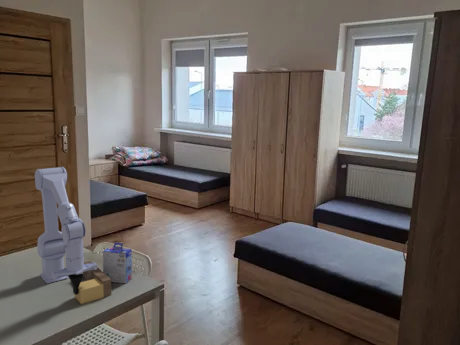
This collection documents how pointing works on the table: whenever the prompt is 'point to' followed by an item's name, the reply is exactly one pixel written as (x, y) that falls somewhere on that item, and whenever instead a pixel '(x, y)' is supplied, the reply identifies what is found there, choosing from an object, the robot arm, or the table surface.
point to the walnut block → (101, 277)
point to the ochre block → (90, 291)
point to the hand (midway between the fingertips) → (76, 293)
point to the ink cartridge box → (118, 263)
